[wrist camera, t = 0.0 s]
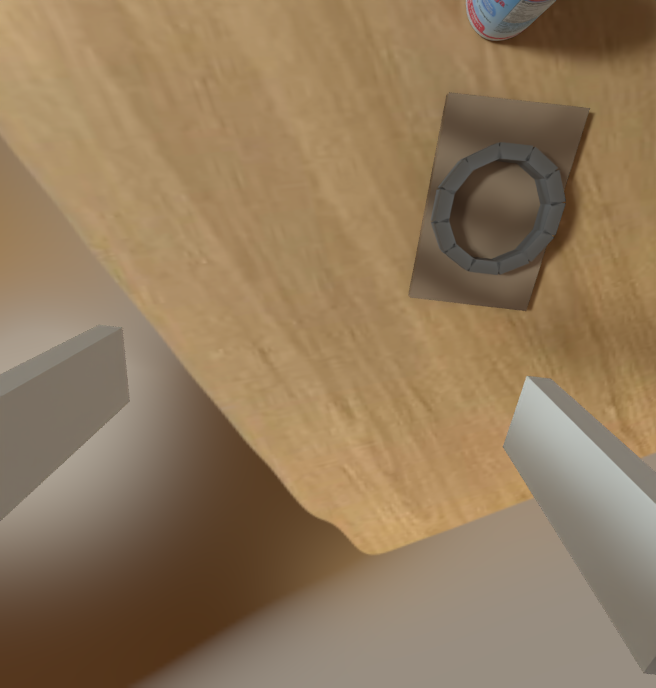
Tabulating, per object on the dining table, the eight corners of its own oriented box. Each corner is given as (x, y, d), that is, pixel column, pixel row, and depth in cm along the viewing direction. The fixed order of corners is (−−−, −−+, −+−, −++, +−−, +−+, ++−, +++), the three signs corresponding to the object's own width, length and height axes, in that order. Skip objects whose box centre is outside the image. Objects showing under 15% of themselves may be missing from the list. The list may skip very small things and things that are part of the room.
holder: (446, 95, 33) (455, 85, 30) (583, 110, 33) (605, 102, 30) (408, 294, 39) (413, 302, 36) (522, 308, 39) (535, 316, 36)
